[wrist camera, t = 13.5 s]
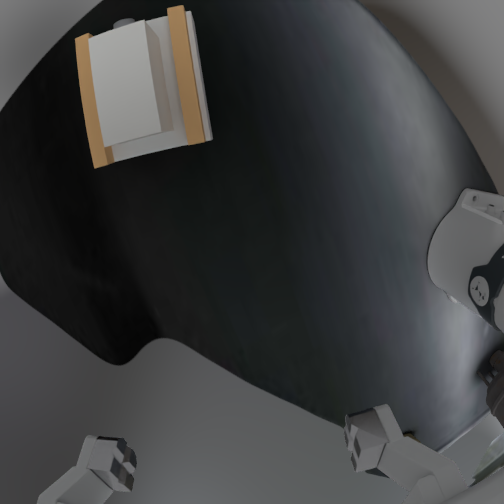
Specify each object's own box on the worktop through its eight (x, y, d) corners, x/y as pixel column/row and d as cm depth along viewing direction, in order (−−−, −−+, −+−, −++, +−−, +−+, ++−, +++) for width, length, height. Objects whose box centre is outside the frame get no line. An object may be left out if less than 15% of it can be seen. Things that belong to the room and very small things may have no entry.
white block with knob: (174, 130, 28) (161, 131, 22) (126, 142, 28) (104, 147, 22) (156, 24, 23) (142, 4, 18) (110, 38, 23) (86, 23, 18)
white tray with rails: (194, 22, 27) (188, 3, 21) (212, 138, 32) (210, 141, 27) (93, 50, 27) (71, 40, 21) (110, 162, 32) (90, 169, 27)
